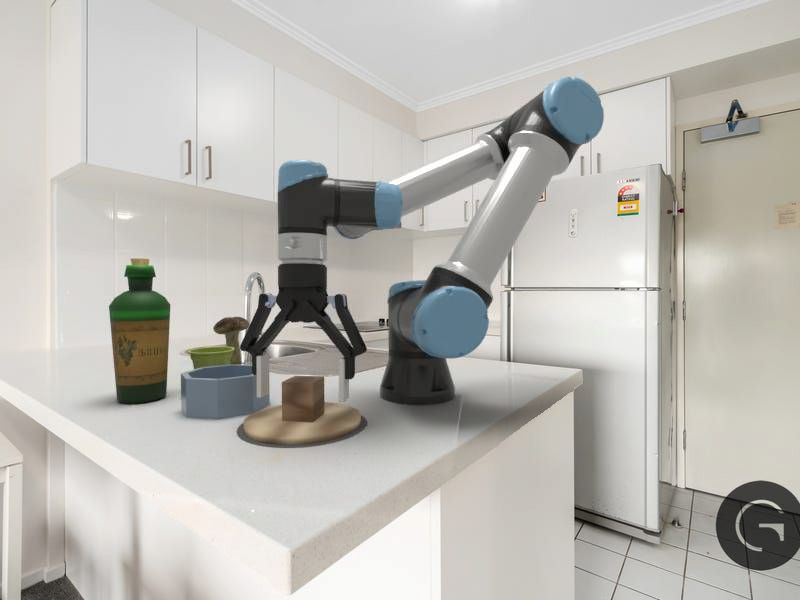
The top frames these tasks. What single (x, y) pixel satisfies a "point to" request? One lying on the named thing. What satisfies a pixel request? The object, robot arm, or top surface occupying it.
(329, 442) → the mat
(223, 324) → the mushroom
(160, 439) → the top surface
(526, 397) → the top surface
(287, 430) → the lid
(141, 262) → the bottle
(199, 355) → the plant pot
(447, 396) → the robot arm
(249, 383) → the bowl
